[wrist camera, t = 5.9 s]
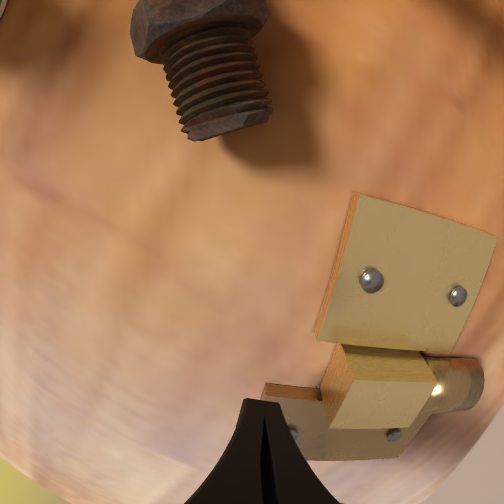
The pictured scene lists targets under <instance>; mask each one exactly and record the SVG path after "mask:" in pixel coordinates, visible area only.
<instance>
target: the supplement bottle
mask: <svg viewBox="0 0 504 504" xmlns="http://www.w3.org/2000/svg"><path fill="white" fill-rule="evenodd" d="M6 3H7V0H0V18H1V16H2V14H3V12H4V9H5V6H6Z"/></svg>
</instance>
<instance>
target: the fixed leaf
mask: <svg viewBox="0 0 504 504" xmlns="http://www.w3.org/2000/svg"><path fill="white" fill-rule="evenodd" d="M423 359H424V360H425V362H426V363H427V365H428V366H429V368H430V369H431V371H432V372H433V374H434V376H435V377H436V379H437V380H438V384H437V385H436V387H435V389H434V390H433V392H432V393H431V395H430V397H429V398H428V400H427V401H426V403H425V404H424V406H423V407H422V409H421V410H420V412H419V413H418V415H417V416H416V418H415V419H414V421H413V422H412V424H411V425H410V426H409V427H404V428H382V429H334V428H329V427H328V422H327V417H326V412H325V408H324V403H323V398H322V394H321V389H314V388H304V387H294V386H285V385H277V384H270V383H265V386H264V389H263V393H262V396H261V399H260V400H263V401H271V402H278V403H279V404H280V406H281V409H282V412H283V415H284V417H285V420H286V422H287V425H288V427H289V429H290V431H291V433H292V436H293V438H294V440H295V442H296V443H297V445H298V447H299V449H300V451H301V453H302V455H303V456H304V458H305V460H315V461H346V460H370V459H384V458H395V457H399V455H400V454H401V453H402V452H403V451H404V449H405V448H406V447H407V446H408V444H409V443H410V442H411V440H412V439H413V438H414V437H415V435H416V434H417V433H418V431H419V430H420V429H421V427H422V426H423V424H424V423H425V422H426V420H427V419H428V417H429V416H430V415H431V414H436V413H447V412H457V411H465V410H469V409H471V408H472V407H474V406H475V405H476V403H477V402H478V401H479V399H480V397H481V395H482V392H483V388H484V372H483V369H482V367H481V365H480V364H479V362H478V361H476V360H474V359H468V358H433V357H423Z"/></svg>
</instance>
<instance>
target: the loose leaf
mask: <svg viewBox="0 0 504 504" xmlns="http://www.w3.org/2000/svg"><path fill="white" fill-rule="evenodd" d="M497 238H498V237H496V236H494V235H492V234H490V233H488V232H485V231H482V230H479V229H477V228H474V227H471V226H468V225H465V224H462V223H459V222H456V221H453V220H450V219H447V218H444V217H441V216H438V215H434V214H431V213H428V212H425V211H421V210H418V209H415V208H411V207H408V206H405V205H401V204H398V203H394V202H391V201H387V200H383V199H380V198H376V197H372V196H369V195H365V194H361V193H357V192H353V195H352V199H351V203H350V207H349V211H348V215H347V219H346V223H345V227H344V230H343V234H342V238H341V242H340V245H339V249H338V252H337V256H336V260H335V263H334V267H333V270H332V273H331V277H330V280H329V284H328V287H327V290H326V293H325V297H324V300H323V303H322V306H321V309H320V313H319V316H318V319H317V322H316V325H315V328H314V332H315V336H316V340H317V341H324V342H332V343H337V346H336V348H335V351H334V353H333V356H332V358H331V361H330V363H329V366H328V368H327V370H326V373H325V375H324V378H323V380H322V382H321V385H320V389H321V394H322V398H323V403H324V408H325V412H326V417H327V422H328V427H329V428H334V429H382V428H404V427H409V426H410V425H411V424H412V422H413V421H414V419H415V418H416V416H417V415H418V413H419V412H420V410H421V409H422V407H423V406H424V404H425V403H426V401H427V400H428V398H429V397H430V395H431V393H432V392H433V390H434V389H435V387H436V385H437V384H438V380H437V379H436V377H435V376H434V374H433V372H432V371H431V369H430V368H429V366H428V365H427V363H426V362H425V360H424V359H423V357H422V356H421V354H420V353H419V351H432V352H451V351H452V349H453V347H454V345H455V343H456V341H457V339H458V337H459V335H460V333H461V331H462V329H463V327H464V325H465V323H466V320H467V318H468V316H469V314H470V311H471V309H472V307H473V304H474V302H475V300H476V297H477V295H478V292H479V290H480V287H481V285H482V282H483V280H484V277H485V274H486V271H487V269H488V266H489V263H490V260H491V257H492V254H493V251H494V248H495V245H496V242H497Z"/></svg>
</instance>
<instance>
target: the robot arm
mask: <svg viewBox="0 0 504 504" xmlns="http://www.w3.org/2000/svg"><path fill="white" fill-rule="evenodd" d="M184 504H340V503H339V502H338V501H337V500H336V499H335V498H334V497H333V496H332V495H331V494H330V492H329V491H328V490H327V489H326V488H325V486H324V485H323V484H322V483H321V482H320V480H319V479H318V478H317V476H316V475H315V473H314V472H313V471H312V469H311V468H310V466H309V464H308V463H307V461H306V460H305V458H304V456H303V455H302V453H301V451H300V449H299V447H298V445H297V443H296V442H295V440H294V438H293V436H292V433H291V431H290V429H289V427H288V425H287V422H286V420H285V417H284V415H283V412H282V409H281V406H280V404H279V403H278V402H271V401H263V400H256V399H249V398H246V399H244V400H243V403H242V406H241V410H240V414H239V418H238V421H237V425H236V429H235V431H234V434H233V436H232V438H231V440H230V442H229V444H228V446H227V447H226V449H225V451H224V453H223V455H222V456H221V458H220V459H219V461H218V463H217V464H216V466H215V467H214V468H213V470H212V471H211V473H210V474H209V475H208V477H207V478H206V479H205V481H204V482H203V483H202V484H201V486H200V487H199V488H198V489H197V490H196V491H195V493H194V494H193V495H192V496H191V497H190V498H189V499H188V500H187V501H186V502H185V503H184Z"/></svg>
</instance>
